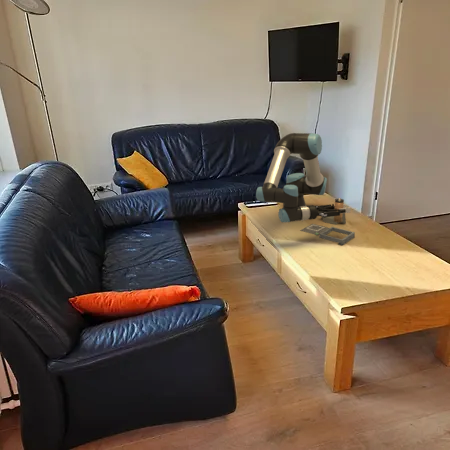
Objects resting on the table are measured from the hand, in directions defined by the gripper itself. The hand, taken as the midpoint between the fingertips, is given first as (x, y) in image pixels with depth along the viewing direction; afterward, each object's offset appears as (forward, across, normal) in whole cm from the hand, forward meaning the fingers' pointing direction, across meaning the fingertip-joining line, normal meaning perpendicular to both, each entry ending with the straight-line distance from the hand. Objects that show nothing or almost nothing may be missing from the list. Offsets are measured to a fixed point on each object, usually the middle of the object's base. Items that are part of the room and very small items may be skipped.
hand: (347, 208), depth 215 cm
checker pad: (-12, -14, -17) cm, 25 cm away
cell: (-5, 0, -7) cm, 8 cm away
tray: (-5, 0, -17) cm, 18 cm away
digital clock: (+3, -22, -17) cm, 29 cm away
